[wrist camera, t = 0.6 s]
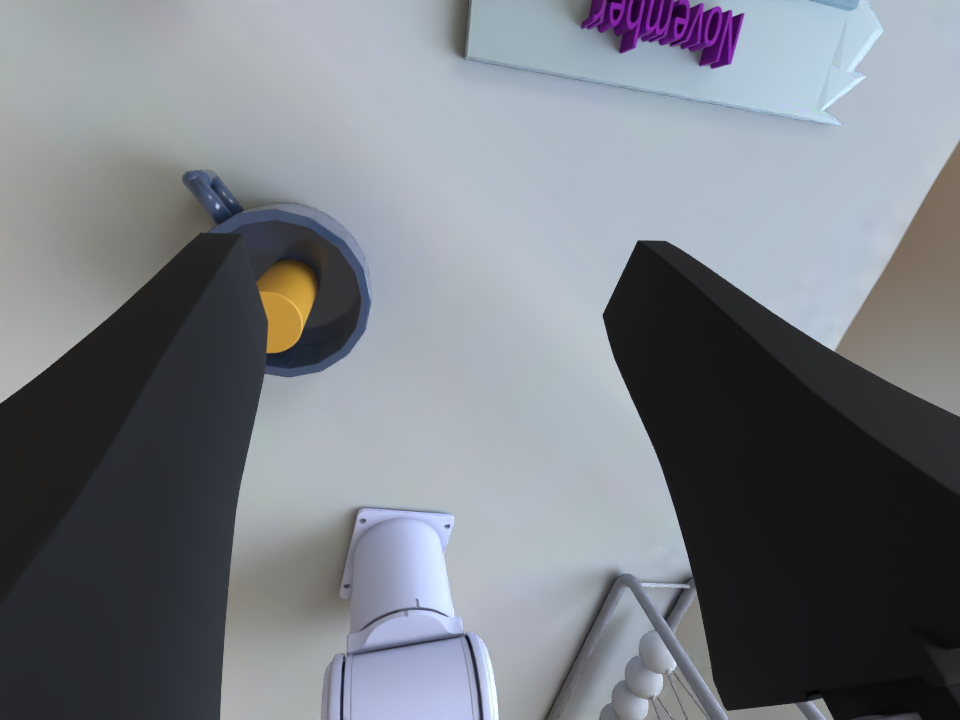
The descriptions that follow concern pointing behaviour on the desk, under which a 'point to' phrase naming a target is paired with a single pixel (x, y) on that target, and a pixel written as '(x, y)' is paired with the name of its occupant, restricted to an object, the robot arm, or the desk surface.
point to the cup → (311, 242)
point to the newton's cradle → (649, 660)
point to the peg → (287, 301)
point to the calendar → (687, 47)
